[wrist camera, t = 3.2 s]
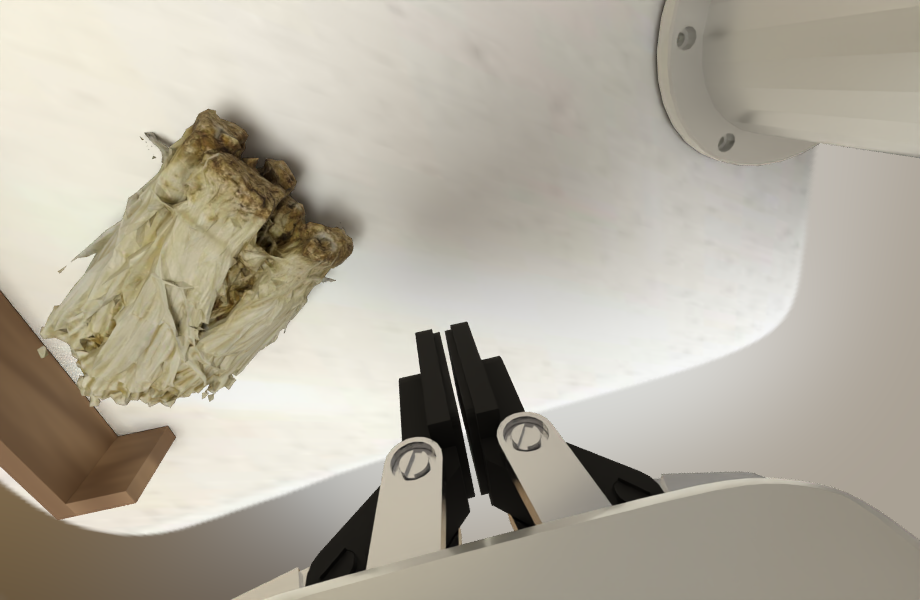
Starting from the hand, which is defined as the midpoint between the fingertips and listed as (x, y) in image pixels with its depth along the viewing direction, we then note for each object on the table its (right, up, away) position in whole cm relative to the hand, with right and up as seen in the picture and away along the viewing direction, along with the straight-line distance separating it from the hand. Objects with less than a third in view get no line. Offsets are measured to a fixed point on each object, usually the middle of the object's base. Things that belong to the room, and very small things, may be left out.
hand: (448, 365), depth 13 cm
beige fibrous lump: (-12, +4, +8) cm, 15 cm away
